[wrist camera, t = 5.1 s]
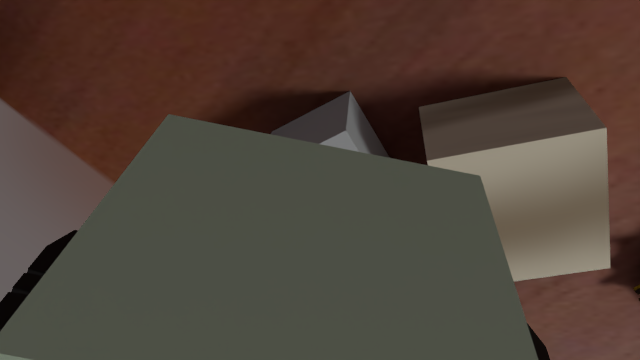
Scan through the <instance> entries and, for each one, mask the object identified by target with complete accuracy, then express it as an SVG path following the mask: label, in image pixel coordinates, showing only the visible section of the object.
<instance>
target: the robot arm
mask: <svg viewBox="0 0 640 360" xmlns="http://www.w3.org/2000/svg"><path fill="white" fill-rule="evenodd" d="M77 232H78V231H77V230H74V231H72V232H70V233H69V234H67V235H65V236H64V237H62V238H60V239H58V240H56V241H55V242H53V243H52V244H50V245H48V246H46V247H45V249H44V250H43V251H42V252H41V253H40V255H39V256H38V257H37V258H36V260H35V261H34V262H33V263H32V265H31V266H30V267H29V268H28V272H27V273H24V274H23V275H22V276H21V278H20V279H19V280H18V282H17V283H16V284H15V285H14V286H13V289H12V292H8V293H7V295H6V296H5V297H4V298H3V300H2V301H1V302H0V331H1V330H2V328H3V327H4V326H5V324H6V323H7V322H8V321H9V319H10V318H11V317H12V315H13V314H14V313H15V312H16V310H17V309H18V308H19V306H20V305H21V304H22V303H23V301H24V300H25V299H26V297H27V296H28V295H29V294H30V292H31V291H32V290H33V288H34V287H35V286H36V285H37V283H38V282H39V281H40V279H41V278H42V277H43V275H44V274H45V273H46V272H47V270H48V269H49V268H50V266H51V265H52V264H53V263H54V261H55V260H56V259H57V257H58V256H59V255H60V254H61V252H62V251H63V250H64V248H65V247H66V246H67V245H68V243H69V242H70V241H71V239H72V238H73V237H74V236H75V234H76V233H77ZM527 325H528V324H527ZM528 329H529V332H530V335H531V338H532V341H533V344H534V348H535V351H536V354H537V357H538V360H550V358H549V355H548V352H547V349H546V347H545V345H544V344H543V343H542V341H541V340H540V339H539V338H538V336H537V335H536V334H535V333H534V331H533V330H532V329H531V327H530V326H529V325H528Z"/></svg>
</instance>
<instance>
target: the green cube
mask: <svg viewBox="0 0 640 360" xmlns="http://www.w3.org/2000/svg"><path fill="white" fill-rule="evenodd" d="M0 360H538V357H537V354H536V351H535V348H534V344H533V341H532V338H531V335H530V332H529V329H528V325H527V322H526V319H525V316H524V313H523V310H522V306H521V303H520V300H519V297H518V294H517V291H516V287H515V284H514V281H513V278H512V275H511V272H510V268H509V265H508V262H507V259H506V256H505V253H504V249H503V246H502V243H501V240H500V237H499V234H498V230H497V227H496V224H495V221H494V218H493V215H492V211H491V208H490V205H489V202H488V199H487V196H486V192H485V189H484V186H483V183H482V180H481V177H480V176H479V175H474V174H469V173H464V172H459V171H454V170H449V169H443V168H438V167H433V166H428V165H423V164H418V163H413V162H408V161H403V160H398V159H393V158H388V157H383V156H378V155H372V154H367V153H362V152H357V151H352V150H347V149H342V148H337V147H332V146H327V145H322V144H317V143H312V142H306V141H301V140H296V139H291V138H286V137H281V136H276V135H271V134H266V133H261V132H256V131H251V130H246V129H241V128H235V127H230V126H225V125H220V124H215V123H210V122H205V121H200V120H195V119H190V118H185V117H180V116H175V115H170V114H168V116H167V117H166V118H165V119H164V121H163V122H162V123H161V125H160V126H159V127H158V128H157V130H156V131H155V132H154V134H153V135H152V136H151V138H150V139H149V140H148V141H147V143H146V144H145V145H144V147H143V148H142V149H141V150H140V152H139V153H138V154H137V156H136V157H135V158H134V159H133V161H132V162H131V163H130V165H129V166H128V167H127V168H126V170H125V171H124V172H123V174H122V175H121V176H120V177H119V179H118V180H117V181H116V183H115V184H114V185H113V187H112V188H111V189H110V190H109V192H108V193H107V194H106V196H105V197H104V198H103V199H102V201H101V202H100V203H99V205H98V206H97V207H96V209H95V210H94V211H93V213H92V214H91V215H90V216H89V217H88V219H87V220H86V221H85V223H84V224H83V225H82V226H81V228H80V229H79V230H78V232H77V233H76V234H75V236H74V237H73V238H72V239H71V241H70V242H69V243H68V245H67V246H66V247H65V248H64V250H63V251H62V252H61V254H60V255H59V256H58V257H57V259H56V260H55V261H54V263H53V264H52V265H51V266H50V268H49V269H48V270H47V272H46V273H45V274H44V275H43V277H42V278H41V279H40V281H39V282H38V283H37V285H36V286H35V287H34V288H33V290H32V291H31V292H30V294H29V295H28V296H27V297H26V299H25V300H24V301H23V303H22V304H21V305H20V306H19V308H18V309H17V310H16V312H15V313H14V314H13V315H12V317H11V318H10V319H9V321H8V322H7V323H6V324H5V326H4V327H3V328H2V330H1V331H0Z"/></svg>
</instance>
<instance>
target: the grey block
mask: <svg viewBox="0 0 640 360" xmlns="http://www.w3.org/2000/svg"><path fill="white" fill-rule="evenodd" d="M271 135H276V136H281V137H286V138H291V139H296V140H301V141H306V142H312V143H317V144H322V145H327V146H332V147H337V148H342V149H347V150H352V151H357V152H362V153H367V154H372V155H378V156H383V157H388V158H390V157H389V156H388V154H387V152H386V150H385V149H384V147H383V145H382V144H381V142H380V140H379V139H378V137H377V135H376V134H375V132H374V130H373V129H372V127H371V125H370V124H369V122H368V120H367V119H366V117H365V115H364V113H363V112H362V110H361V108H360V107H359V105H358V103H357V102H356V100H355V98H354V97H353V95H352V93H351V92H350V91H349V92H347V93H345V94H343V95H341V96H339V97H337V98H336V99H334V100H332V101H330V102H328V103H326V104H324V105H322V106H320V107H318V108H316V109H314V110H313V111H311V112H309V113H307V114H305V115H303V116H301V117H299V118H297V119H295V120H293V121H291V122H290V123H288V124H286V125H284V126H282V127H280V128H278V129H276V130H274V131H272V132H271Z"/></svg>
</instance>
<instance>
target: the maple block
mask: <svg viewBox="0 0 640 360" xmlns="http://www.w3.org/2000/svg"><path fill="white" fill-rule="evenodd" d="M419 113H420V120H421V126H422V132H423V139H424V145H425V152H426V158H427V164H428V166H433V167H438V168H443V169H449V170H454V171H459V172H464V173H469V174H474V175H479V176H480V177H481V180H482V183H483V186H484V189H485V192H486V196H487V199H488V202H489V205H490V208H491V211H492V215H493V218H494V221H495V224H496V227H497V230H498V234H499V237H500V240H501V243H502V246H503V249H504V253H505V256H506V259H507V262H508V265H509V268H510V272H511V275H512V278H513V281H520V280H527V279H535V278H542V277H549V276H556V275H563V274H570V273H577V272H585V271H592V270H599V269H606V268H610V234H609V199H608V163H607V128H606V126H605V125H604V124H603V123H602V121H601V120H600V119H599V118H598V116H597V115H596V114H595V113H594V111H593V110H592V109H591V108H590V106H589V105H588V104H587V103H586V101H585V100H584V99H583V98H582V96H581V95H580V94H579V93H578V91H577V90H576V89H575V88H574V86H573V85H572V84H571V83H570V81H569V80H568V79H567V78H566V77H564V78H559V79H554V80H549V81H545V82H540V83H535V84H530V85H525V86H520V87H515V88H510V89H505V90H500V91H495V92H490V93H485V94H480V95H475V96H470V97H466V98H461V99H456V100H451V101H446V102H441V103H436V104H431V105H426V106H421V107H419Z"/></svg>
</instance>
